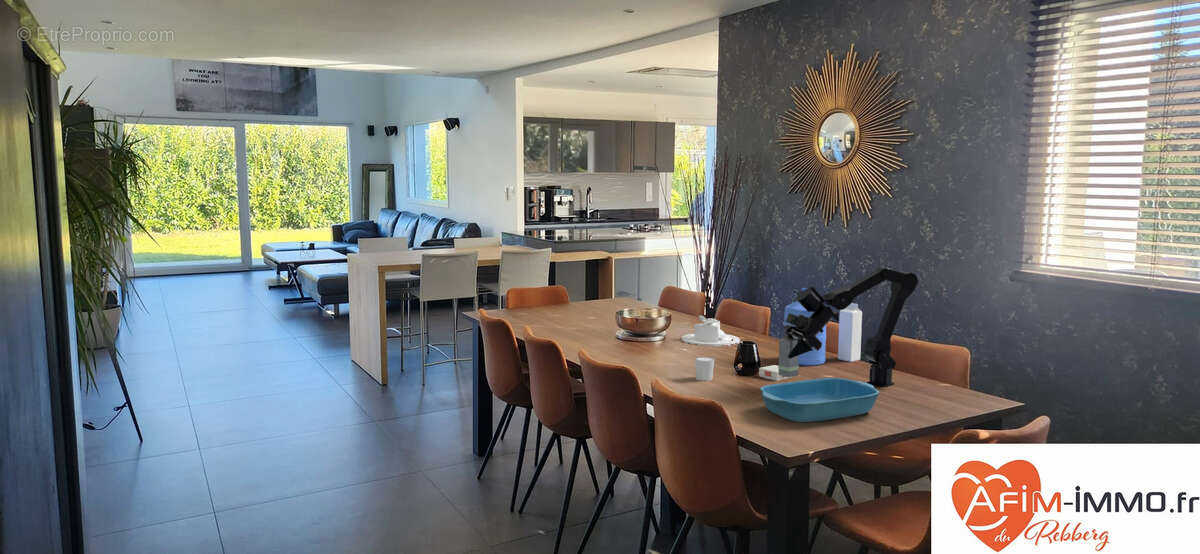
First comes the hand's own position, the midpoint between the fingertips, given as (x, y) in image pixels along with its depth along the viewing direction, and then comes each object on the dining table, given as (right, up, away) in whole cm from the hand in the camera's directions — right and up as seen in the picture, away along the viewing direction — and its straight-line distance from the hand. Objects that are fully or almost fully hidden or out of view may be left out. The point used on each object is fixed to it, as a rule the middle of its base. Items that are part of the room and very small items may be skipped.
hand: (784, 355), depth 268 cm
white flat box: (+1, -9, +17) cm, 20 cm away
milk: (+35, -6, +46) cm, 58 cm away
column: (+1, -7, +1) cm, 7 cm away
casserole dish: (+4, -15, -25) cm, 29 cm away
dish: (-13, -2, +83) cm, 84 cm away
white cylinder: (-25, -10, +14) cm, 30 cm away
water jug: (+17, -7, +42) cm, 46 cm away
